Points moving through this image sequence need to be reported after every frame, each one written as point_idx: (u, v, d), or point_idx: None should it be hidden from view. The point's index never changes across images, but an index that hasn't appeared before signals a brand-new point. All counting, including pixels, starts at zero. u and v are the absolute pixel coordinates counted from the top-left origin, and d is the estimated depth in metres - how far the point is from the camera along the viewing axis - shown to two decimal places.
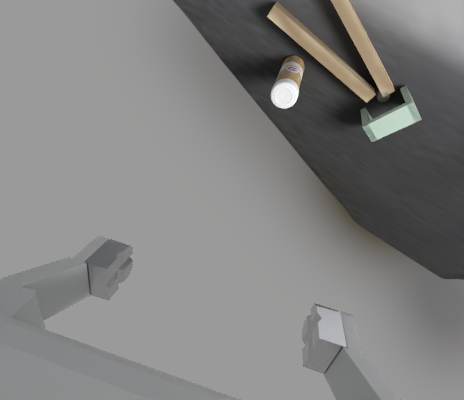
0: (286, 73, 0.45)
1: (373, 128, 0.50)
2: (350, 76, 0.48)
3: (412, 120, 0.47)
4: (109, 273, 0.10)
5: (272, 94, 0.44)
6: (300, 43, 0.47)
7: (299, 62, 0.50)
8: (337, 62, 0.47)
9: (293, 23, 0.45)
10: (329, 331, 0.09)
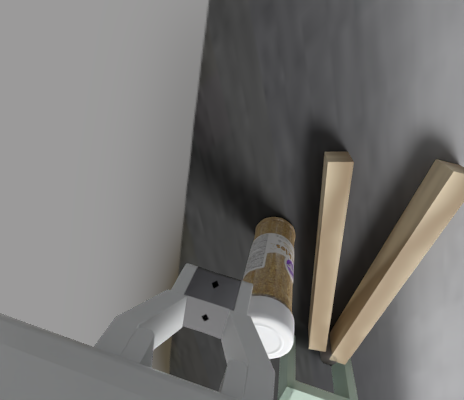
0: (284, 279, 0.21)
1: (295, 396, 0.31)
2: (326, 316, 0.30)
3: None
4: (208, 306, 0.10)
5: None
6: (323, 235, 0.25)
7: None
8: (332, 293, 0.28)
9: (344, 208, 0.23)
10: (221, 296, 0.10)
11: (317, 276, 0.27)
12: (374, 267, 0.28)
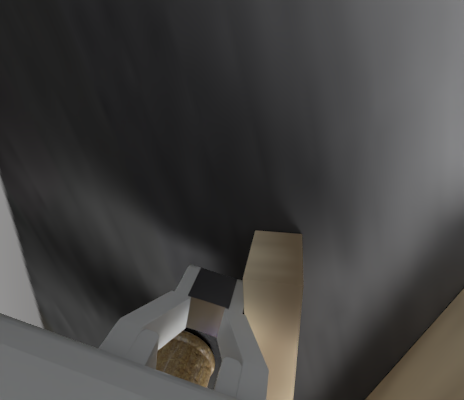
0: None
1: None
2: None
3: None
4: (211, 307, 0.10)
5: None
6: None
7: None
8: None
9: (291, 366, 0.10)
10: (217, 295, 0.10)
11: None
12: None
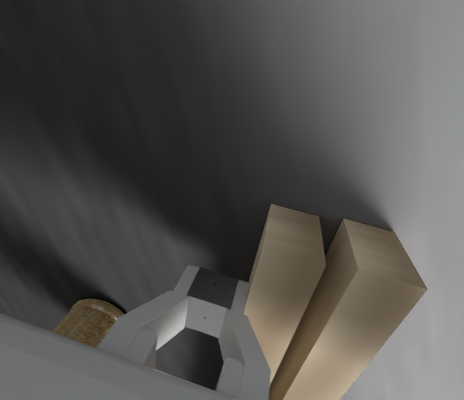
0: None
1: None
2: None
3: None
4: (210, 306, 0.10)
5: None
6: None
7: None
8: None
9: (282, 346, 0.10)
10: (218, 295, 0.10)
11: None
12: None
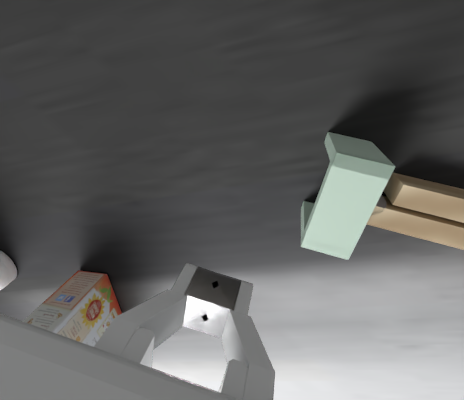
0: None
1: (366, 180, 0.19)
2: None
3: (312, 237, 0.22)
4: (208, 306, 0.10)
5: None
6: None
7: None
8: None
9: None
10: (221, 296, 0.10)
11: None
12: None
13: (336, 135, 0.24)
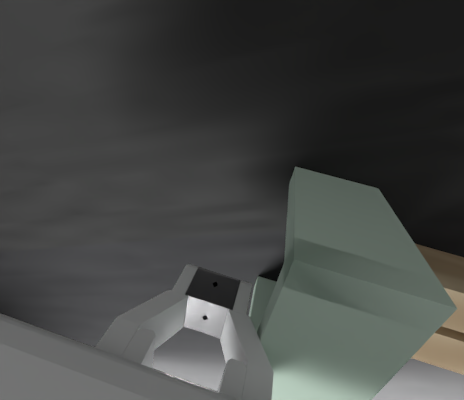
0: None
1: (373, 328, 0.07)
2: None
3: None
4: (208, 306, 0.10)
5: None
6: None
7: None
8: None
9: None
10: (220, 296, 0.10)
11: None
12: None
13: (310, 176, 0.12)
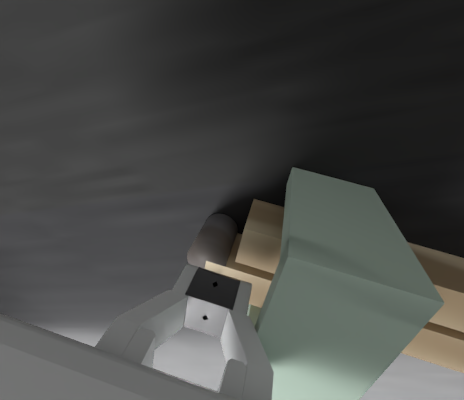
0: None
1: (365, 322, 0.07)
2: None
3: None
4: (209, 306, 0.10)
5: None
6: None
7: None
8: (445, 322, 0.12)
9: None
10: (221, 296, 0.10)
11: None
12: None
13: (306, 176, 0.12)
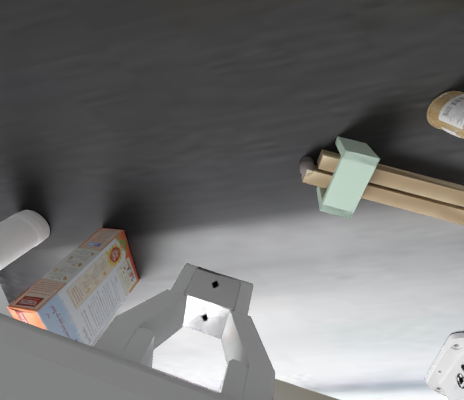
0: None
1: (363, 167, 0.31)
2: None
3: (327, 204, 0.34)
4: (208, 306, 0.10)
5: None
6: (453, 190, 0.34)
7: None
8: (389, 186, 0.35)
9: None
10: (221, 296, 0.10)
11: (413, 179, 0.34)
12: None
13: (343, 138, 0.36)
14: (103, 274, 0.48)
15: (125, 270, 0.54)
